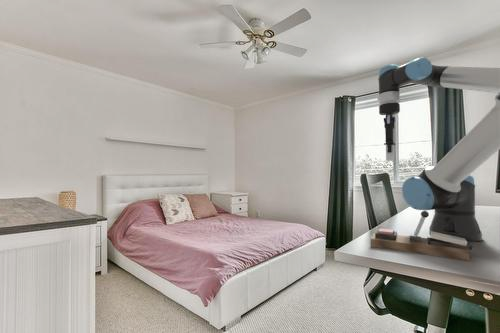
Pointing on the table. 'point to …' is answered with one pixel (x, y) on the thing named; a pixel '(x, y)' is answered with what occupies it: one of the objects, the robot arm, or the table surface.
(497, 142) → the robot arm
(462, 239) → the rocker switch
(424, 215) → the toggle lever
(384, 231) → the push button
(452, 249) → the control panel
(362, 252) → the table surface
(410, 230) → the table surface
